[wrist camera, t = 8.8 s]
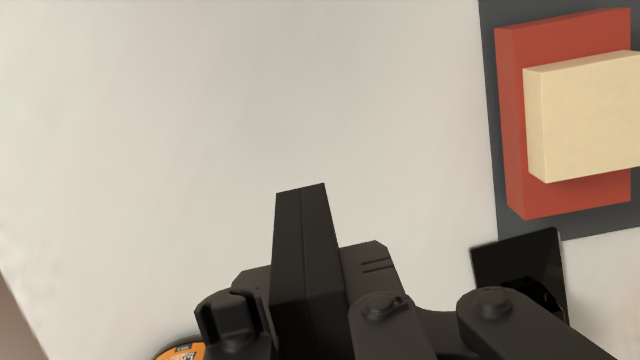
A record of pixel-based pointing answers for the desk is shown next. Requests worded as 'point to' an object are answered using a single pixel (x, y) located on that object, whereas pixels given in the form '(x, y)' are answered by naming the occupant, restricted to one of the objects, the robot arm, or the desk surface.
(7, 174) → the desk surface
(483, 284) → the black angular block
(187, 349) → the supplement container
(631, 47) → the mat
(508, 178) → the toy car
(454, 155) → the desk surface
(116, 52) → the desk surface
